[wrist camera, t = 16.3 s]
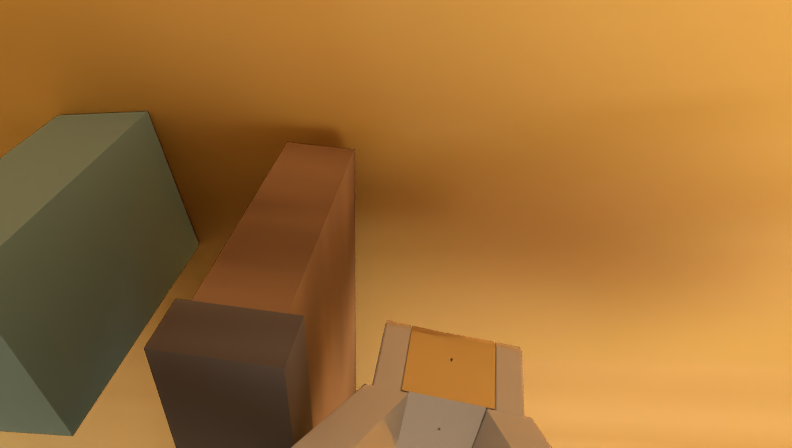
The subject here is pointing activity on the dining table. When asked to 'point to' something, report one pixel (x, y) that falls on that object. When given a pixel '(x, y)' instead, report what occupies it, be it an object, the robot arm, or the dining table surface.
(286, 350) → the gate
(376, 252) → the dining table surface
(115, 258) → the grey-green rectangular block
